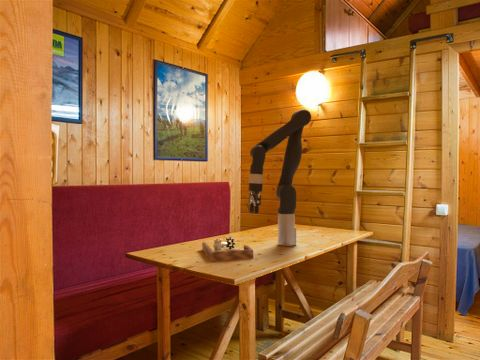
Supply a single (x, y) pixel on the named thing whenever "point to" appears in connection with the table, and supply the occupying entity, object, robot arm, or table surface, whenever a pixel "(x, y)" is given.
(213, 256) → the rack
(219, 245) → the valve
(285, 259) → the table surface
